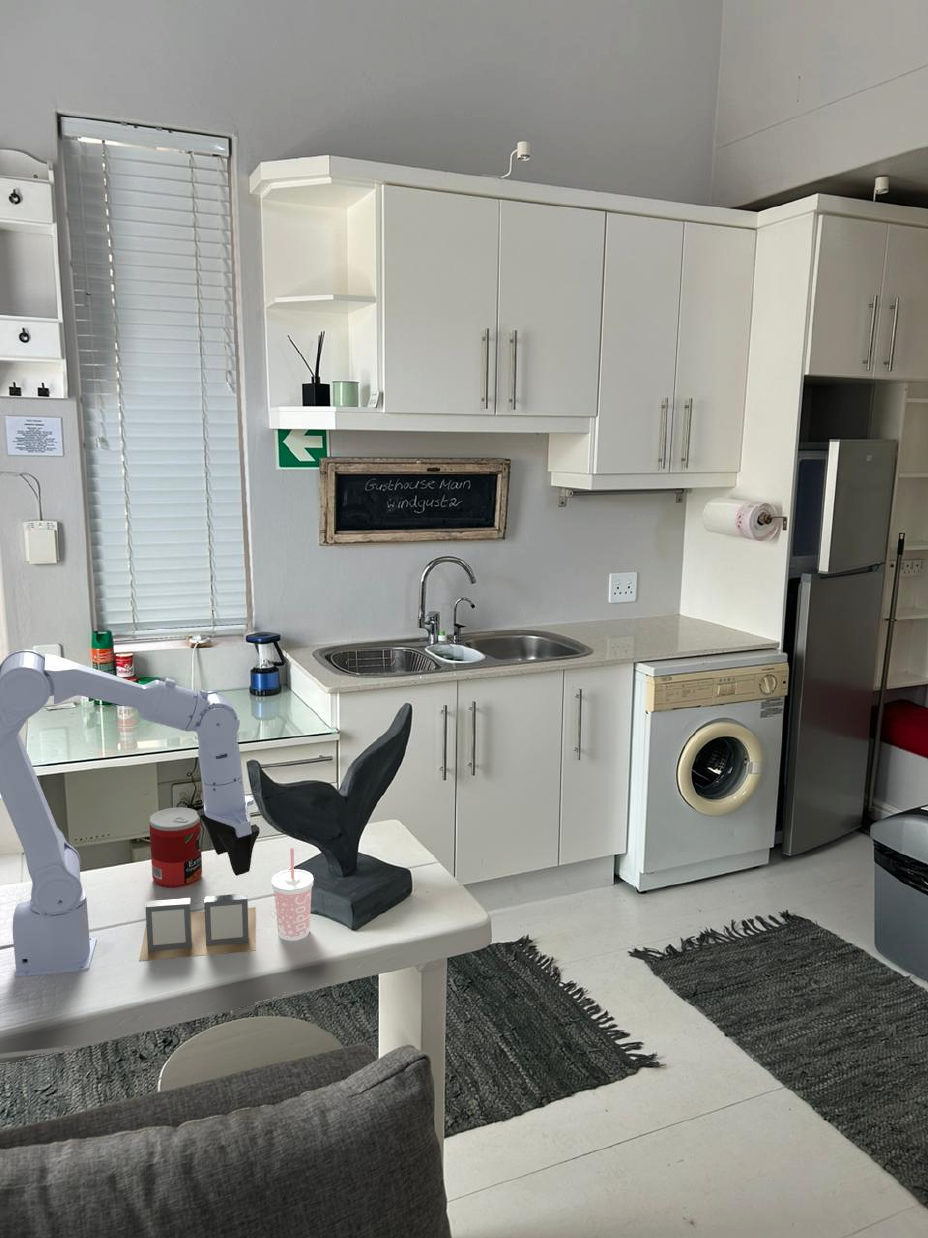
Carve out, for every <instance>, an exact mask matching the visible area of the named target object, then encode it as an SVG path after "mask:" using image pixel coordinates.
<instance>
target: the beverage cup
mask: <svg viewBox="0 0 928 1238" xmlns="http://www.w3.org/2000/svg"><path fill="white" fill-rule="evenodd" d="M289 850H290V869H286V870H282V871H279V872H278V873H275V874H274V875H273V876H272V878H271V887H272V889H273V894H274V903H275V914H276V926H277V935H278V937H280V939H282V940H285V941H290V942H292V941H299V940H302V939H305V938H306V937H307V936H308V935H309V933H310V929H311V909H312V908H311V906H312V905H311V904H312V890H313V889H312V888H313V887H314V880H315V879H314V875H313V874H312V873H311V872H310V871H307V870H304V869H299V868H296V869H295V850H294V846H291V847H290V848H289Z"/></svg>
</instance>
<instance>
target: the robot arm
mask: <svg viewBox="0 0 928 1238" xmlns="http://www.w3.org/2000/svg"><path fill="white" fill-rule="evenodd" d="M44 655H45V656H44ZM44 655H43V654H41V653H40V652H38V651H35V650H32V649H20V650H17V651H14V652H12V653H9V655H7V656H6V657H5V658H4V659H3V660H2V662H1V663H0V796H1V799H2V801H3V803H4V806H5V808H6V812H7V813H8V816H9V817H10V820H11V823H12V825H13V828H14V830H15V832H16V834H17V837H18V840H19V841H20V842H19V843H20V844H21V846H22V849H23V851H24V857H25V860H26V861H25V862H26V865H27V871H28V874H29V877H30V879H31V884H32V885H31V886H32V887H31V892H30V900H28V901H24V902H19V903H17V904H16V906H15V909H14V913H13V917H12V918H13V919H12V941H13V952H14V962H15V963H14V964H15V974H14V977H15V978H18V977H19V978H21V977H30V976H41V975H51V974H52V975H54V974H63V973H64V974H65V973H73V972H84V971H88V970H89V969H90V966H91V962H92V959H93V956H94V952H95V947H96V945H97V941H98V938H97V937H90V928H89V915H88V902H87V901H88V900H87V892H86V890H85V889H84V888H83V885H82V882H81V865H82V864H81V863H82V862H81V856H80V853H79V852H78V850H77V849H76V848H75V847H73V846H72V845H70V844H69V842H67V840H66V838H65V835H64V834H63V832H62V831H61V830H60V829H59V828H58V826H57V823H56V821H55V818H54V816H53V814H52V811H51V808H50V806H49V803H48V801H47V799H46V796H45V794H44V791H43V788H42V787H41V784H40V780H39V779H38V776H37V774H36V771H35V768H34V766H33V764H32V761H31V759H30V755H29V753H28V752H27V749H26V746H25V744H24V741H23V739H22V736H21V734H20V732H21V730H22V729H23V727H24V725H25V724H26V722H27V720H28V719H29V718H31V717H33V716H34V715H35V714H36V713H38V712H39V711H40V710H41V709H43V707H44V706H45V705H46V704H47V702H49V699H50V697H51V696H52V697H53V704H54V705H56V704H57V705H58V704H59V703H62V702H64V701H67V700H68V699H71V698H74V697H76V696H81V697H84V698H89V699H93V700H98V701H103V702H107V703H112V704H115V705H120V706H124V707H128V708H132V709H135V710H137V712H138V714H139V715H140V717H141V719H142V720H144V721H147V722H151V723H154V724H157V725H162V726H164V727H167V728H168V727H169V728H173V729H176V730H180V731H184V732H189V733H190V732H195V733H196V734H197V743H198V750H197V754H198V762H199V769H200V778H201V786H202V795H203V803H204V805H203V808H200V809H198V810H196V811H197V814H198V815H199V817H200V821H202V823H203V824H204V826H205V828H206V830H207V832H208V833H207V834H208V835H209V838H210V841H211V843H212V846H213V849H214V852H215V854H216V855H218V856H219V855H223V854H226V853H227V856H228V859H229V862H230V866H231V870H232V872H233V874H234V875H235V876H236V877H238V876H240V875H245V874H246V873H249V872H250V869H251V865H252V858H253V852H254V851H253V850H254V846H255V843H256V842H257V841H256V840H257V839H258V837H259V835H260V831H261V830H260V827H259V826H258V825H257V824H256V823H255V824H253V825H252V823H251V820H250V819H249V814H248V813H249V812H248V811H249V810H248V809H249V808H248V807H249V806H252V805H254V801H255V800H254V798H253V797H252V796H250V795H245V786H244V777H243V769H242V761H241V751H240V746H239V743H238V731H239V729H240V724H241V723H240V720H239V719H238V715H237V712H236V711H235V709H234V707H233V705H232V703H231V701H230V700H229V699H228V698H227V697H226V696H224V695H223V694H221V693H219V692H218V691H215V690H210V691H207V690H204V689H201V690H200V691H197V690H194V689H190V688H186V687H184V686H180V685H177V683H176V680H175V679H172V678H169V677H166V678H165V680H164V681H163V680H159V679H155V680H152V681H150V682H147V683H145V684H141V683H139V682H135V681H132V680H130V679H129V680H128V679H126V678H124V677H120V676H117V675H114V674H111V673H108V672H104V671H103V670H98V669H97V668H96V669H95V668H94V667H90V666H87V665H84V664H81V663H78V662H75V661H72V660H70V659H67V658H63V657H61V656H58V655H55V654H47V653H45V654H44Z"/></svg>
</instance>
